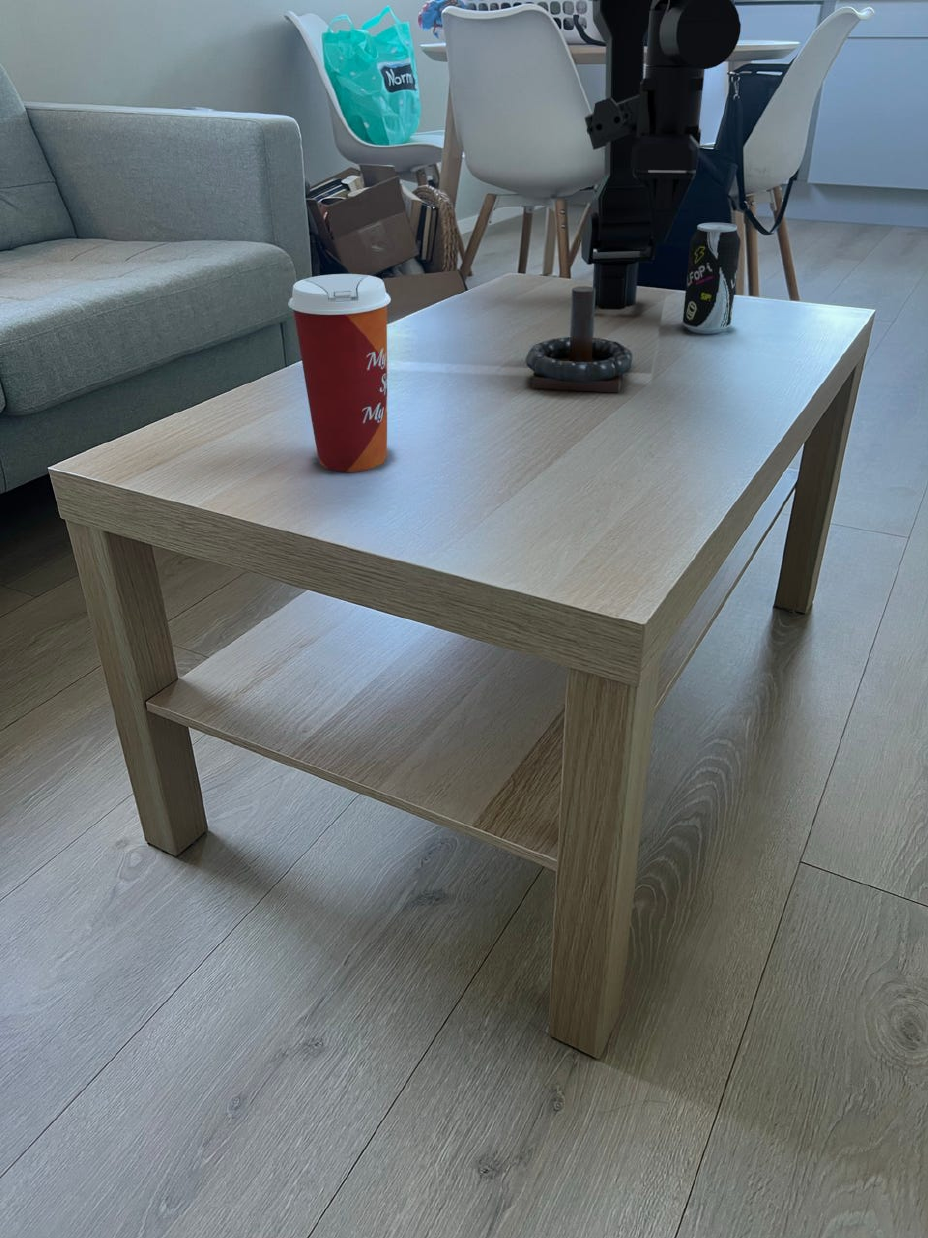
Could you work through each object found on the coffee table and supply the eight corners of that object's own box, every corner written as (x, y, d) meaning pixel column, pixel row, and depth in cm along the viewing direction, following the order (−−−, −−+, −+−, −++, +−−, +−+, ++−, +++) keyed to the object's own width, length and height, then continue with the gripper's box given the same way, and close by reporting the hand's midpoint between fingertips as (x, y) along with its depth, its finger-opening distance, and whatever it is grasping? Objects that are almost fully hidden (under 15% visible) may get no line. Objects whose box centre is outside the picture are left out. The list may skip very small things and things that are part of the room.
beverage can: (730, 336, 115) (743, 230, 108) (681, 334, 116) (692, 229, 110) (729, 324, 120) (742, 221, 113) (682, 322, 121) (692, 220, 114)
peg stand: (544, 362, 107) (546, 277, 103) (625, 366, 106) (631, 280, 101) (531, 388, 100) (533, 297, 95) (618, 392, 98) (624, 301, 93)
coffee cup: (406, 472, 82) (397, 291, 74) (309, 481, 80) (289, 298, 73) (392, 437, 89) (382, 268, 81) (302, 445, 87) (283, 274, 80)
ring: (535, 350, 107) (535, 332, 106) (634, 355, 105) (636, 336, 104) (518, 381, 98) (518, 362, 97) (626, 387, 96) (628, 367, 95)
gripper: (602, 62, 103) (594, 217, 111) (582, 70, 88) (574, 250, 96) (708, 61, 101) (692, 219, 109) (706, 69, 85) (688, 253, 94)
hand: (660, 234), depth 102 cm, fingers open, 9 cm apart
